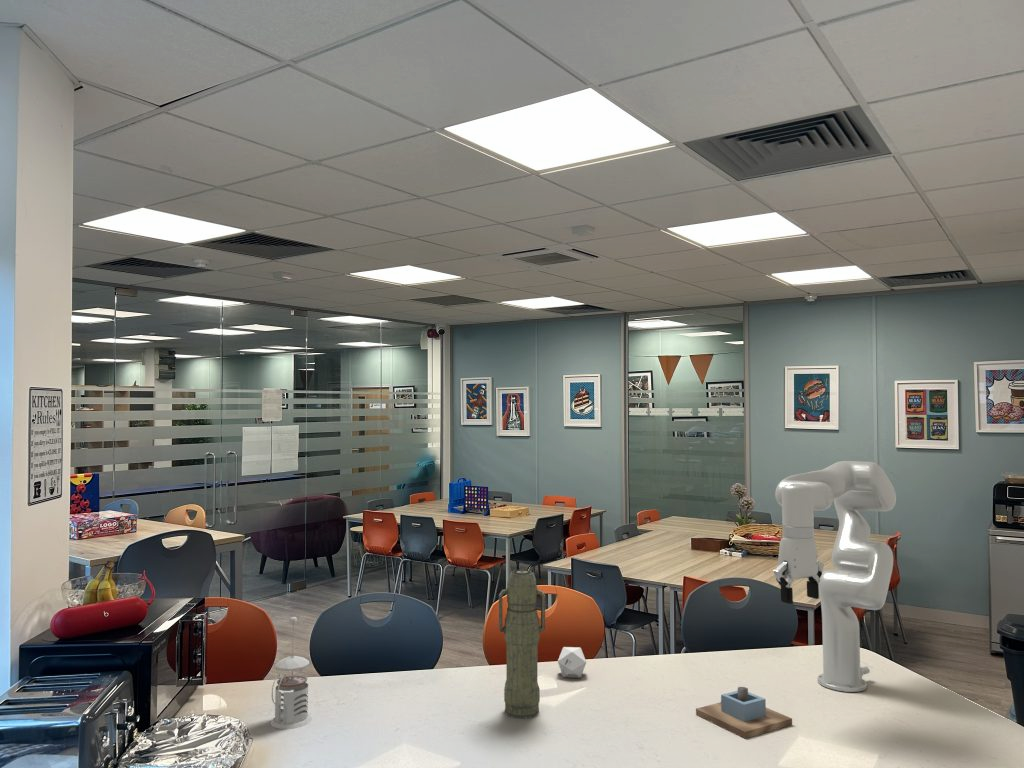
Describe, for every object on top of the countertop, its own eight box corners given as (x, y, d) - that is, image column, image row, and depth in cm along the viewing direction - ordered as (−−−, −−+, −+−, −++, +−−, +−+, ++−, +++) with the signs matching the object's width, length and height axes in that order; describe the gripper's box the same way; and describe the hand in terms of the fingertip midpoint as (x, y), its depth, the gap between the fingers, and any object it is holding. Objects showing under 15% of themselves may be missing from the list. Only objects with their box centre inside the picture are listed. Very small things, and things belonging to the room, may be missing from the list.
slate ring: (742, 705, 184) (742, 689, 184) (765, 715, 178) (765, 699, 178) (721, 711, 180) (721, 694, 181) (744, 721, 174) (743, 704, 174)
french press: (320, 715, 181) (321, 613, 182) (291, 734, 170) (293, 625, 171) (286, 710, 184) (288, 610, 186) (256, 728, 173) (259, 621, 175)
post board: (741, 702, 190) (741, 673, 190) (792, 724, 176) (791, 693, 176) (695, 714, 182) (695, 684, 182) (745, 738, 168) (744, 705, 168)
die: (552, 674, 213) (551, 654, 208) (569, 654, 218) (569, 634, 213) (574, 690, 208) (574, 670, 203) (591, 669, 214) (592, 649, 208)
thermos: (548, 716, 180) (548, 574, 182) (501, 719, 179) (502, 575, 181) (541, 703, 189) (541, 567, 191) (496, 706, 187) (497, 568, 189)
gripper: (808, 528, 194) (810, 593, 193) (762, 533, 185) (764, 601, 185) (833, 531, 187) (835, 599, 186) (786, 537, 179) (788, 608, 178)
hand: (800, 600), depth 185 cm, fingers open, 9 cm apart
